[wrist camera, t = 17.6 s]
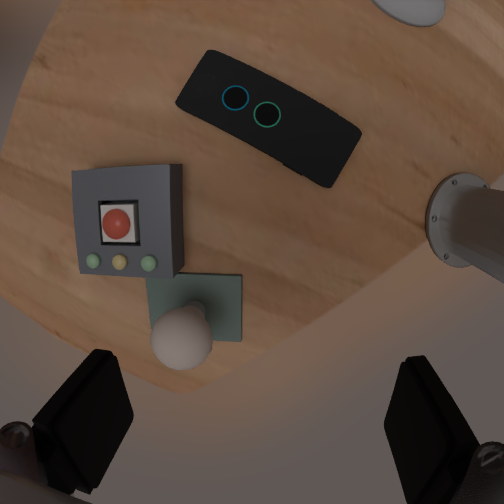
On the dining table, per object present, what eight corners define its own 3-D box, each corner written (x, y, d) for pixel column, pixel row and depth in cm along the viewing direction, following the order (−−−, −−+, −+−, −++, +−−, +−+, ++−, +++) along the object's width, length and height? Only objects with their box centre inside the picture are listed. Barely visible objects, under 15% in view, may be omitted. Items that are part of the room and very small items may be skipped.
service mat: (241, 274, 38) (241, 276, 37) (241, 339, 40) (241, 341, 40) (146, 270, 38) (145, 272, 38) (153, 333, 41) (152, 335, 40)
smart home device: (209, 46, 30) (364, 130, 32) (211, 51, 32) (360, 131, 33) (171, 105, 32) (329, 191, 34) (176, 108, 34) (326, 190, 36)
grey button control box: (182, 164, 35) (167, 164, 29) (184, 264, 38) (171, 281, 32) (92, 169, 35) (67, 171, 30) (98, 261, 38) (76, 275, 33)
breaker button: (143, 201, 34) (130, 205, 30) (144, 236, 35) (132, 243, 31) (112, 202, 34) (97, 206, 30) (114, 235, 35) (100, 243, 31)
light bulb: (231, 320, 39) (220, 372, 28) (187, 337, 40) (165, 389, 29) (205, 274, 38) (184, 316, 27) (161, 295, 39) (128, 339, 28)
